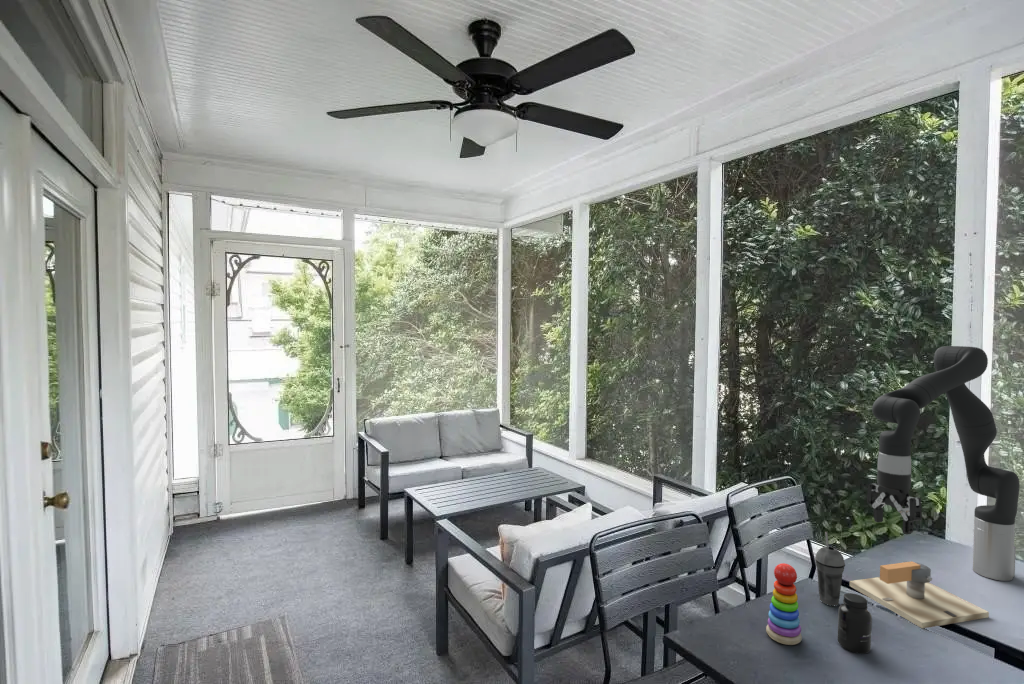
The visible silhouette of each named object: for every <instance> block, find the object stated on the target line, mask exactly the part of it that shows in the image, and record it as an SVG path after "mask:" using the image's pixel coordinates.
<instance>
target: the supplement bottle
mask: <svg viewBox="0 0 1024 684" xmlns="http://www.w3.org/2000/svg"><path fill="white" fill-rule="evenodd" d="M842 602H843V603H842V604H839V607H838V612H837V613H838V614H837V615H838V616H837V642H838V644H839V645H840V646H841V647H842V648H843V649H845V650H847V651H849V652H852V653H855V654H861V655H864V654H868V653H869V652H870V651H871V649H872V627H873V626H872V625H873V624H872V623H873V619H872V614H871V612H870V611H869V610H868V600H867V599H866V598H865V597H864V596H862V595H860V594H857V593H853V592H847V593H844V595H843V599H842Z"/></svg>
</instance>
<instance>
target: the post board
mask: <svg viewBox="0 0 1024 684" xmlns="http://www.w3.org/2000/svg"><path fill="white" fill-rule="evenodd" d="M849 587H850V588H852V589H854V590H855V591H857V592H859V593H861V594H863V595H864V596H866V597H868V599H871V600H872V601H875V602H876V603H878V604H879V605H881V606H883V607H885V608H886V609H888V610H890V611H891V612H893V613H895V614H897V615H898V616H900V617H901V618H903V619H905V620H906V621H908V622H910V623H912V624H914V625H915V626H917V627H919V628H920V629H927V628H933V627H940V626H946V625H950V624H957V623H964V622H969V621H976V620H982V619H987V618H988V619H989V617H990V611H988V610H986V609H984V608H982V607H980V606H978V605H976V604H974V603H972V602H970V601H967V600H966V599H963V598H961V597H959V596H958V595H956V594H953V593H952V592H949V591H948V590H946V589H943V588H941V587H940V586H937V585H935V584H933V583H931V582H929V583H919V582H915V581H904V582H897V583H890V584H887V583H885V582H883V581H882V580H880V576H877V577H869V578H864V579H855V580H849Z"/></svg>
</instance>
